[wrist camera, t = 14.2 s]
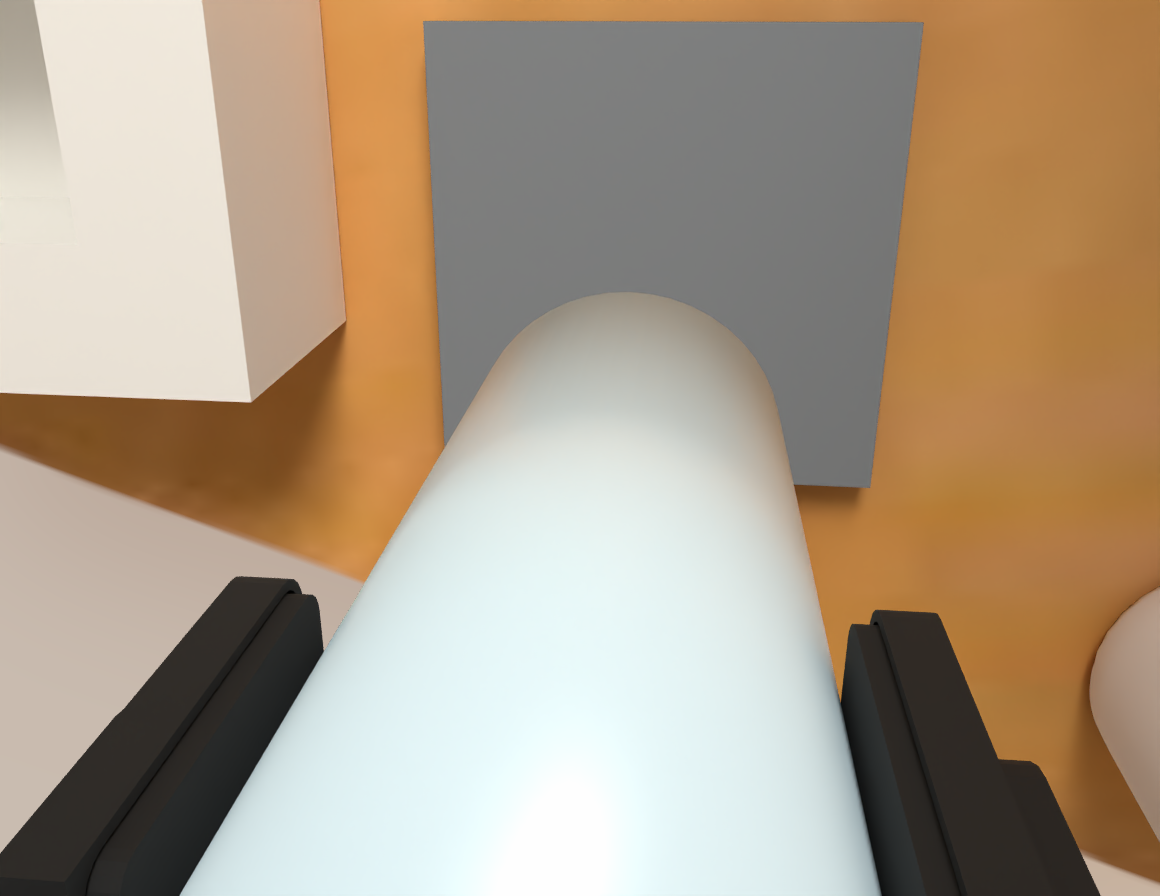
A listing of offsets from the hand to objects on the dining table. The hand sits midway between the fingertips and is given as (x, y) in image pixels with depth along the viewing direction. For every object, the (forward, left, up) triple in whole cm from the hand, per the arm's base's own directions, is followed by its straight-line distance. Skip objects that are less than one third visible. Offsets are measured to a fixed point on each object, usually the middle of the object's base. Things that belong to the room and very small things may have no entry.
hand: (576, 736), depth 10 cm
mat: (0, 0, -21) cm, 21 cm away
